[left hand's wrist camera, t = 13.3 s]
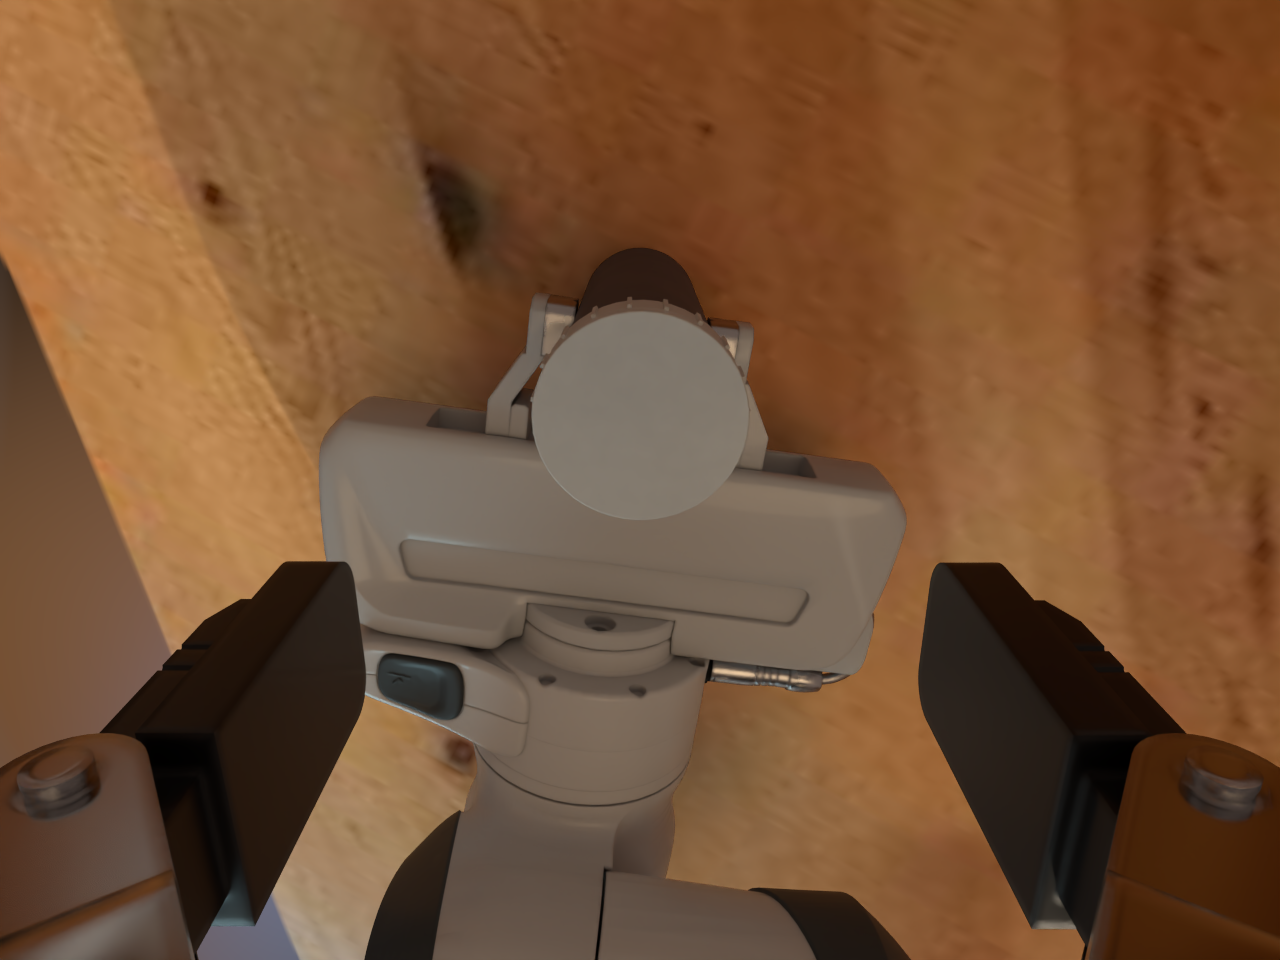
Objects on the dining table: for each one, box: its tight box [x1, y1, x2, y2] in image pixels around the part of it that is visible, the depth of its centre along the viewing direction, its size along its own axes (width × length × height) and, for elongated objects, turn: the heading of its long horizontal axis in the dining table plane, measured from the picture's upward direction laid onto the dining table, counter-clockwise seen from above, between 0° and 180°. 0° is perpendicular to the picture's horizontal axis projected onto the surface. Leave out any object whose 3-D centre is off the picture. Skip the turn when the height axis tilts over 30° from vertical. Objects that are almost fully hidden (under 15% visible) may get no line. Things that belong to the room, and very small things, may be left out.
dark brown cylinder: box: [572, 248, 708, 325], centre depth 28 cm, size 4×4×16 cm
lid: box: [531, 297, 751, 520], centre depth 21 cm, size 5×5×2 cm
